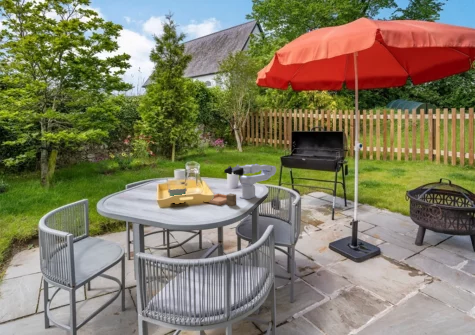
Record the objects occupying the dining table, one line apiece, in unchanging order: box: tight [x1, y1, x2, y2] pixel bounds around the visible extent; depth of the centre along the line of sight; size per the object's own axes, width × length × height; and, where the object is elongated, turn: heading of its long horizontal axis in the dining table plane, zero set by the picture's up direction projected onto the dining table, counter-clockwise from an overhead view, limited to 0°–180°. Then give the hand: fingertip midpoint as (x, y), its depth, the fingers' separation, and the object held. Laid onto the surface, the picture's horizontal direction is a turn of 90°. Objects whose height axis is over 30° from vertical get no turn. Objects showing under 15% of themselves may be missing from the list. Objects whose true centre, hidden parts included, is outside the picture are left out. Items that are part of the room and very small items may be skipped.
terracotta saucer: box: [208, 193, 227, 206], centre depth 206 cm, size 15×15×2 cm
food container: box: [167, 187, 187, 197], centre depth 202 cm, size 12×6×10 cm, turn 101°
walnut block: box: [225, 193, 237, 207], centre depth 196 cm, size 4×5×7 cm
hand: (229, 171), depth 195 cm, fingers open, 7 cm apart
